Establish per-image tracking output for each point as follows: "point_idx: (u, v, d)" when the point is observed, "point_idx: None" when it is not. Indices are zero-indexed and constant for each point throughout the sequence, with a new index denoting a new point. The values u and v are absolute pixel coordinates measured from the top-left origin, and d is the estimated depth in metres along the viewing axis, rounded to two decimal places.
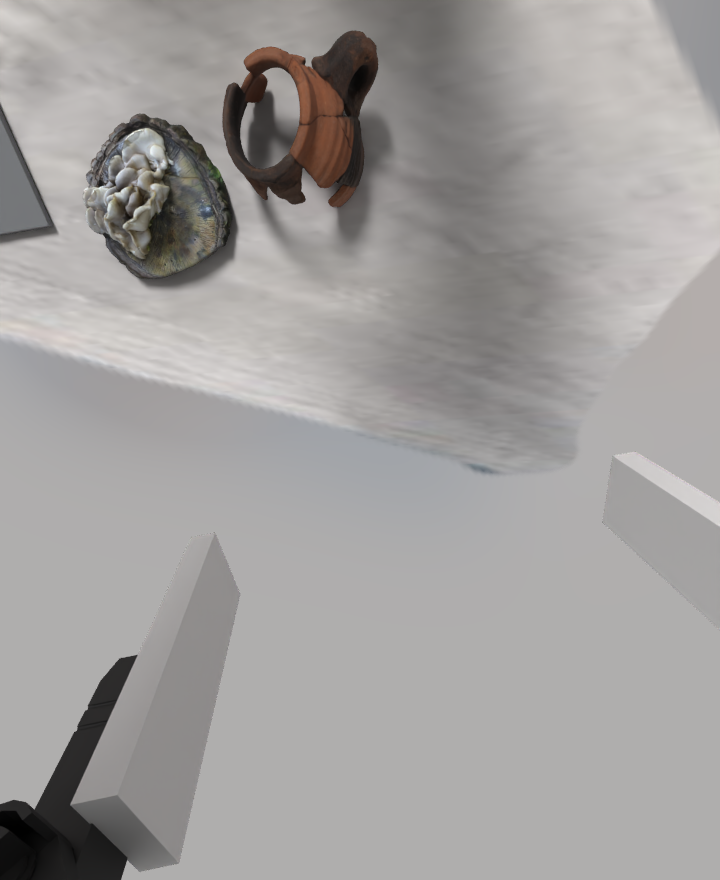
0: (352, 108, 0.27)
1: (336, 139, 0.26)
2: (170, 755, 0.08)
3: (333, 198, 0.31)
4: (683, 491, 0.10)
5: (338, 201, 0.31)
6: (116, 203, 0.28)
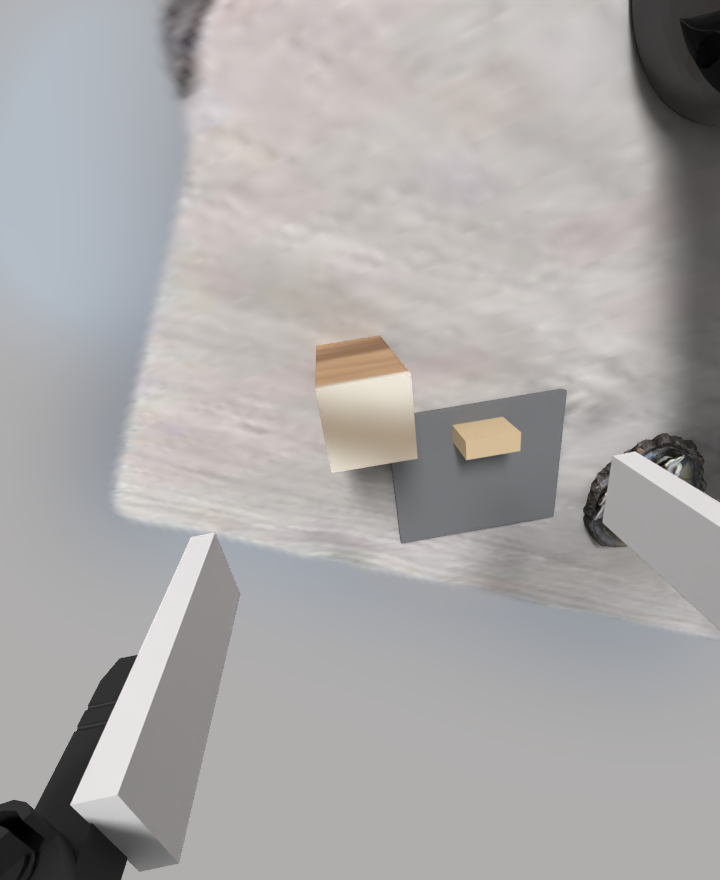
0: None
1: None
2: (170, 755, 0.08)
3: None
4: (683, 491, 0.10)
5: None
6: None
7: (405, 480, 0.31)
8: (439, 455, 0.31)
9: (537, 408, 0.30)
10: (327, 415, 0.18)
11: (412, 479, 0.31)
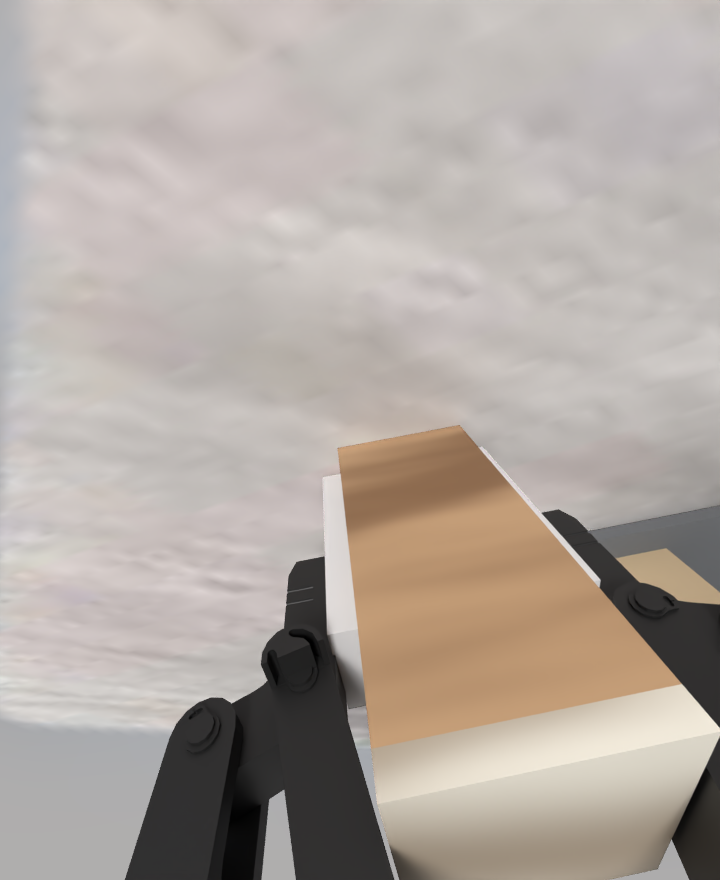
0: None
1: None
2: None
3: None
4: None
5: None
6: None
7: None
8: None
9: None
10: (414, 843, 0.05)
11: None
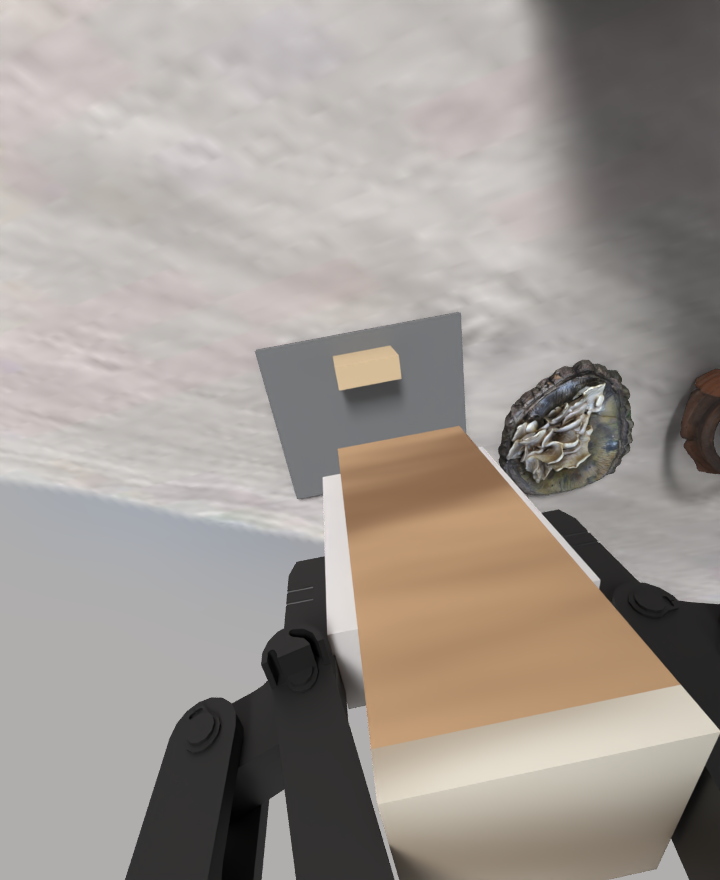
0: None
1: None
2: None
3: None
4: None
5: None
6: None
7: (289, 424, 0.28)
8: (323, 393, 0.27)
9: (429, 334, 0.26)
10: (413, 844, 0.05)
11: (297, 423, 0.28)
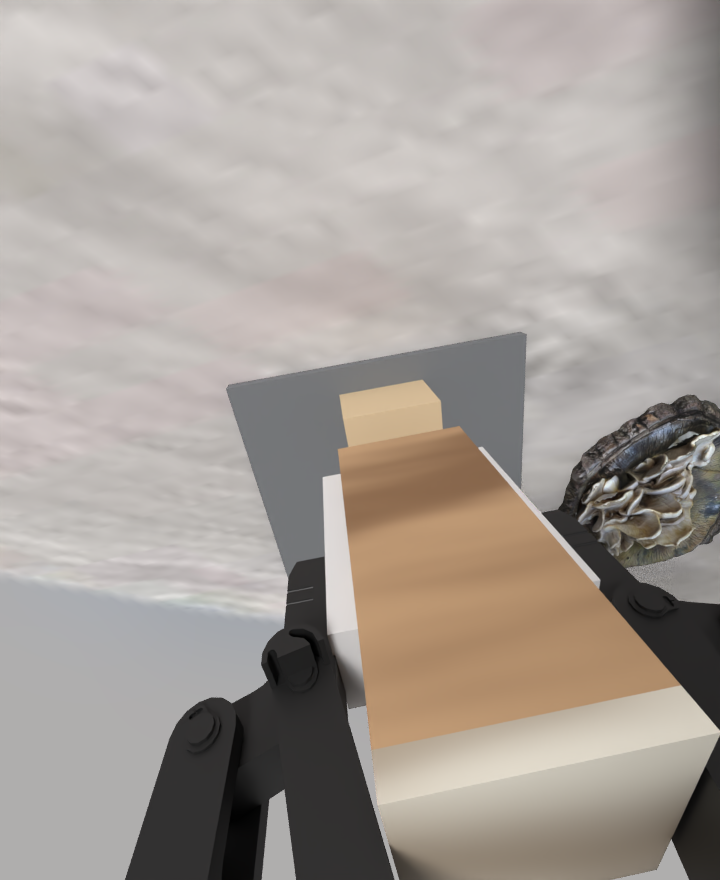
0: None
1: None
2: None
3: None
4: None
5: None
6: None
7: (276, 486, 0.20)
8: (325, 445, 0.19)
9: (479, 364, 0.18)
10: (414, 844, 0.05)
11: (288, 484, 0.20)
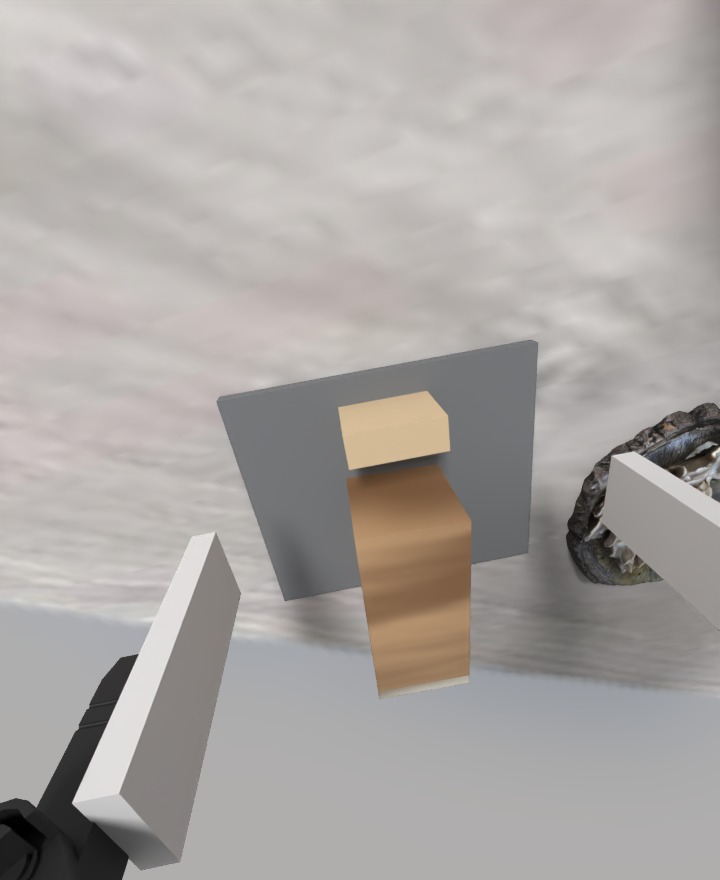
0: None
1: None
2: (171, 754, 0.08)
3: None
4: (682, 491, 0.10)
5: None
6: None
7: (271, 503, 0.19)
8: (323, 460, 0.18)
9: (487, 374, 0.17)
10: None
11: (283, 502, 0.19)
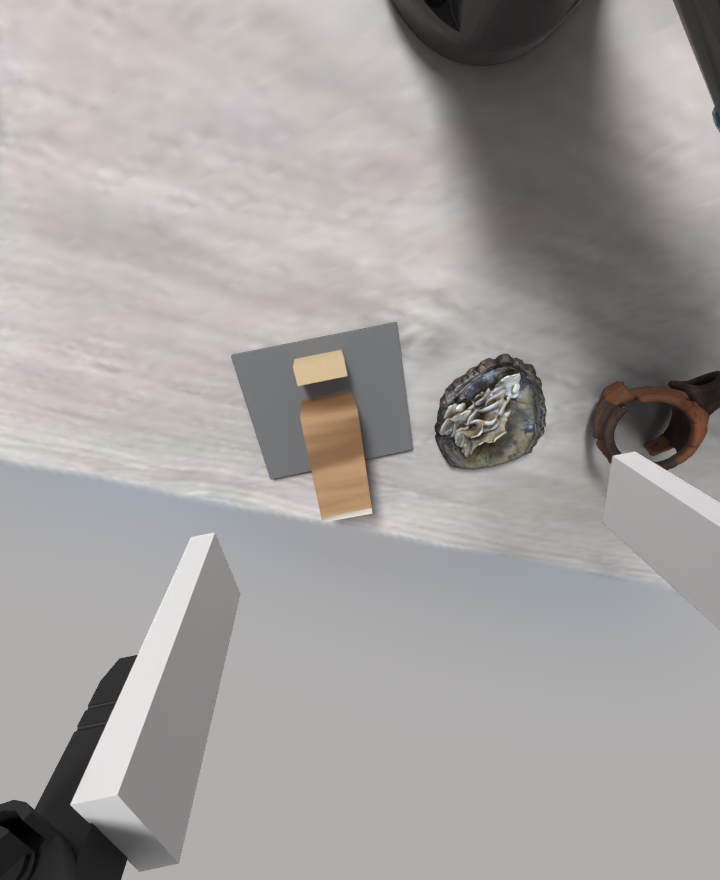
0: None
1: (701, 441, 0.34)
2: (170, 755, 0.08)
3: (657, 452, 0.39)
4: (683, 491, 0.10)
5: None
6: (482, 428, 0.34)
7: (261, 415, 0.34)
8: (288, 389, 0.33)
9: (372, 340, 0.32)
10: None
11: (267, 414, 0.34)
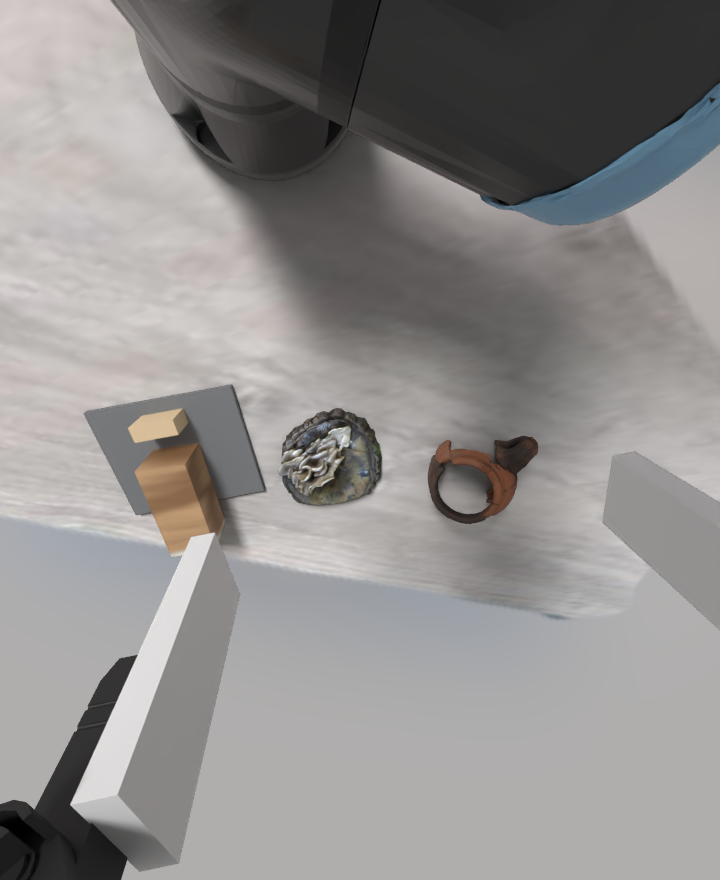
0: None
1: (510, 497, 0.39)
2: (170, 755, 0.08)
3: (491, 500, 0.44)
4: (683, 491, 0.10)
5: None
6: (310, 473, 0.38)
7: (118, 461, 0.38)
8: None
9: (210, 400, 0.37)
10: None
11: (124, 461, 0.38)
